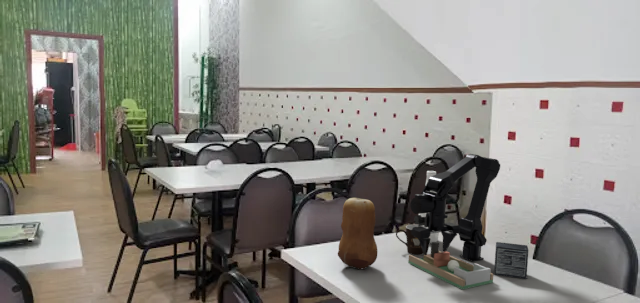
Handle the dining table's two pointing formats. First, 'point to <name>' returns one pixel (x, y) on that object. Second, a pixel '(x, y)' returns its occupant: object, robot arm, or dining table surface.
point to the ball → (452, 265)
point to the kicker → (437, 256)
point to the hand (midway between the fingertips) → (434, 253)
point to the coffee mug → (412, 241)
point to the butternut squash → (358, 234)
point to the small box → (511, 260)
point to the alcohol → (433, 236)
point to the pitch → (456, 272)
